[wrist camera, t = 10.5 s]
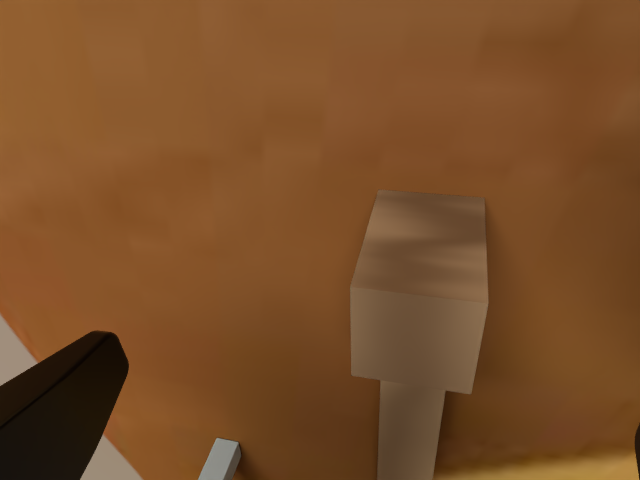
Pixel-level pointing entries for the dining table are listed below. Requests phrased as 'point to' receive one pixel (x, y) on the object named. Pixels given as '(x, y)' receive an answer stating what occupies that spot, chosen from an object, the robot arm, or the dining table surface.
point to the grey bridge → (221, 461)
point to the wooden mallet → (418, 318)
